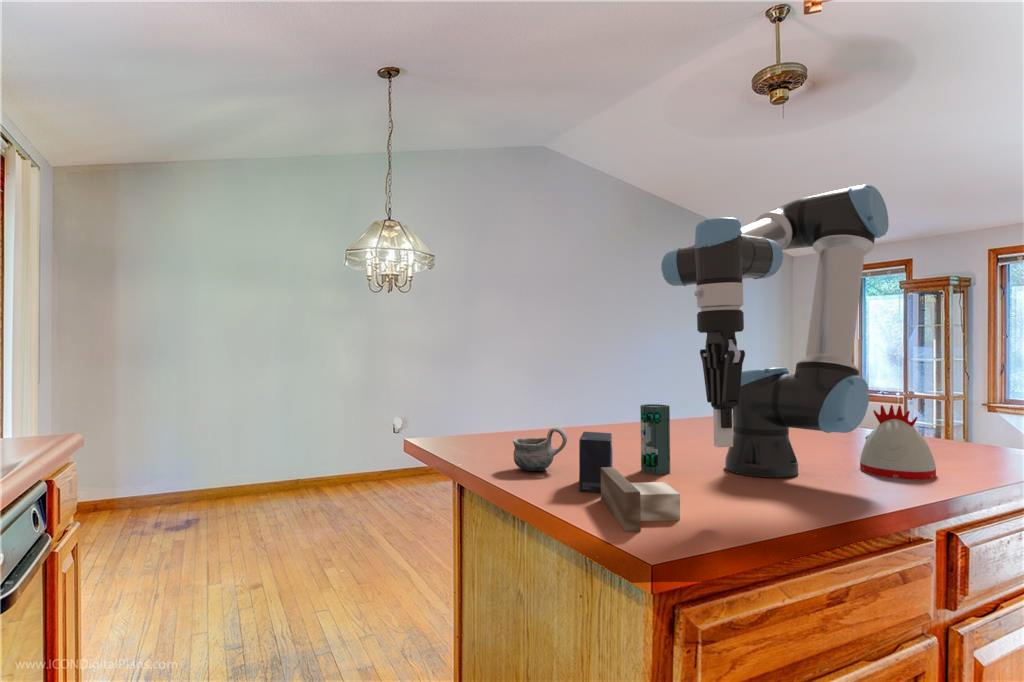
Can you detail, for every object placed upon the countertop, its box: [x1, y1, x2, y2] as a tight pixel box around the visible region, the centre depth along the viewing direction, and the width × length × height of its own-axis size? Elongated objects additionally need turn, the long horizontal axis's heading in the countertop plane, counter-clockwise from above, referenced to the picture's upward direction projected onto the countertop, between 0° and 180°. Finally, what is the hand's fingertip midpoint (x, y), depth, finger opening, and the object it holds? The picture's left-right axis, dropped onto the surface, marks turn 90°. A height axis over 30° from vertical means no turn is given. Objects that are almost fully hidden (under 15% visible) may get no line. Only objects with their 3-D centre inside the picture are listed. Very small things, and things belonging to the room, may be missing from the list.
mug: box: [512, 427, 568, 472], centre depth 129 cm, size 10×12×10 cm
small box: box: [578, 431, 613, 493], centre depth 114 cm, size 11×6×10 cm, turn 168°
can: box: [639, 403, 671, 476], centre depth 127 cm, size 6×6×15 cm
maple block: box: [630, 481, 681, 522], centre depth 95 cm, size 8×8×4 cm
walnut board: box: [600, 466, 642, 532], centre depth 95 cm, size 2×18×6 cm, turn 3°
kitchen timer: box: [859, 404, 937, 480], centre depth 124 cm, size 14×14×15 cm
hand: (723, 446), depth 96 cm, fingers closed
